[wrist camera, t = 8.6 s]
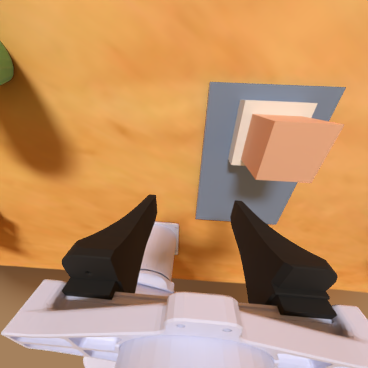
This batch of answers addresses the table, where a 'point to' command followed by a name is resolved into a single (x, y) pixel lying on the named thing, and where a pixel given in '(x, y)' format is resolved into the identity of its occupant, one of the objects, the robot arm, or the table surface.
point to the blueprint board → (239, 176)
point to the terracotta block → (287, 147)
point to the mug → (5, 65)
